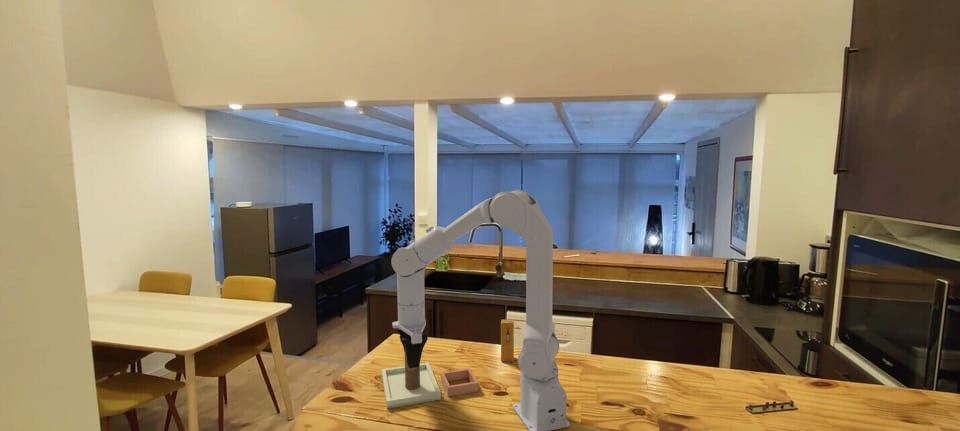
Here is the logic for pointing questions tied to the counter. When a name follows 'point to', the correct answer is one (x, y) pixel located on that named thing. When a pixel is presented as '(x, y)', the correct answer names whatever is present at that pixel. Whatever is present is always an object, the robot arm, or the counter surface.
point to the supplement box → (507, 341)
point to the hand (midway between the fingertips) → (412, 362)
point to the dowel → (412, 376)
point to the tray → (402, 396)
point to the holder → (459, 388)
